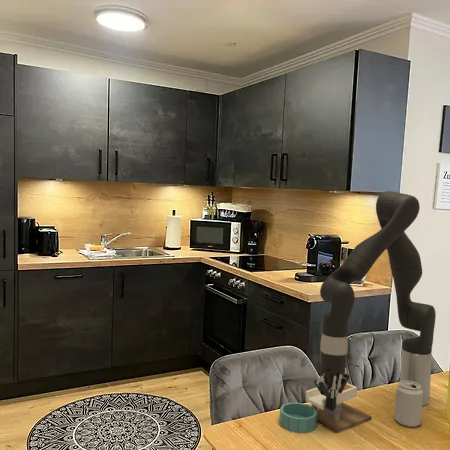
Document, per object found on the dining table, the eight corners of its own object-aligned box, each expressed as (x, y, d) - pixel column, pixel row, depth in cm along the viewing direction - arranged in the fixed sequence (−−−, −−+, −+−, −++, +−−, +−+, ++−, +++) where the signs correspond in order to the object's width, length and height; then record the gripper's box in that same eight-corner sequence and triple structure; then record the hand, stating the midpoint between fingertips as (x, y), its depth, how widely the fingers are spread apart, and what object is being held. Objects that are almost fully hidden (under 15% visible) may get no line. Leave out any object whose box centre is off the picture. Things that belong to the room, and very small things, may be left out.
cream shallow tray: (338, 388, 149) (338, 379, 148) (367, 401, 140) (367, 391, 139) (305, 400, 140) (305, 391, 140) (334, 415, 131) (334, 405, 131)
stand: (337, 402, 152) (338, 384, 151) (371, 419, 141) (372, 400, 140) (302, 414, 142) (303, 395, 142) (336, 433, 131) (337, 412, 131)
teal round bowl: (297, 412, 144) (298, 399, 143) (323, 426, 135) (324, 413, 135) (272, 420, 137) (273, 407, 137) (297, 436, 129) (298, 422, 129)
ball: (340, 387, 147) (339, 375, 146) (350, 391, 143) (349, 379, 143) (332, 391, 144) (331, 379, 144) (342, 396, 141) (341, 384, 141)
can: (423, 430, 135) (425, 390, 135) (396, 426, 137) (398, 387, 136) (417, 418, 143) (420, 380, 142) (392, 415, 144) (394, 377, 143)
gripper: (338, 343, 139) (335, 399, 140) (308, 349, 131) (304, 409, 132) (359, 350, 133) (356, 408, 133) (328, 357, 125) (324, 419, 126)
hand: (330, 409), depth 133 cm, fingers closed
